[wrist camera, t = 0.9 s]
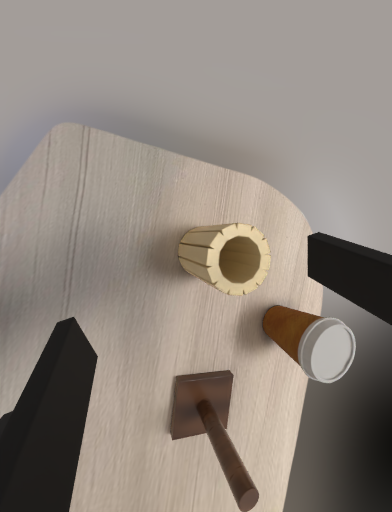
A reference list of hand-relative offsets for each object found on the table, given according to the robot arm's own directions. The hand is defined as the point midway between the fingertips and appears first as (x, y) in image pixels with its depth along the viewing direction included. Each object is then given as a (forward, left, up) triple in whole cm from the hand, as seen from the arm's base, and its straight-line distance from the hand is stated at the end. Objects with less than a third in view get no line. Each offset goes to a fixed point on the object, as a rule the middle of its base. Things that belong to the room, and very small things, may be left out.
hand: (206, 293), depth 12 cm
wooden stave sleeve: (-1, +8, -22) cm, 23 cm away
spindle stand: (+25, +11, -22) cm, 35 cm away
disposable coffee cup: (+11, +25, -22) cm, 35 cm away
